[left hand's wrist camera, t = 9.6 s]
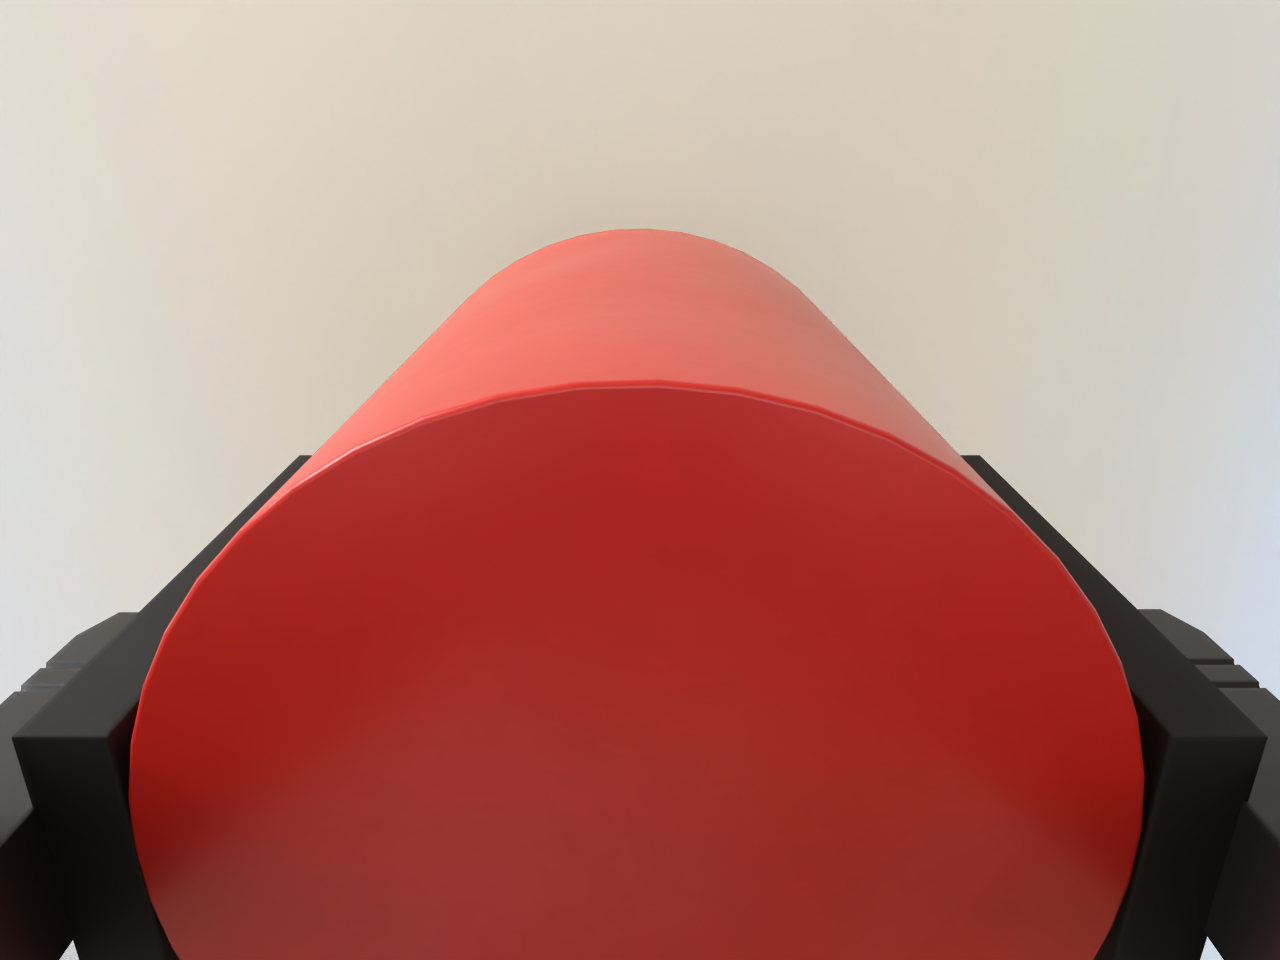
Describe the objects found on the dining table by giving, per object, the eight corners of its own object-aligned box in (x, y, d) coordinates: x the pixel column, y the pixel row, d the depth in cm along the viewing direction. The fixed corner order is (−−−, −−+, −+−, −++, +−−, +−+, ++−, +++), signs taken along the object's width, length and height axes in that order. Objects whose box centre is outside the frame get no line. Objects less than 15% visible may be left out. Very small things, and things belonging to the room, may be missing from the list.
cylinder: (740, 722, 18) (831, 1272, 10) (344, 569, 17) (32, 1040, 8) (960, 354, 16) (1374, 655, 7) (508, 139, 14) (299, 163, 6)
